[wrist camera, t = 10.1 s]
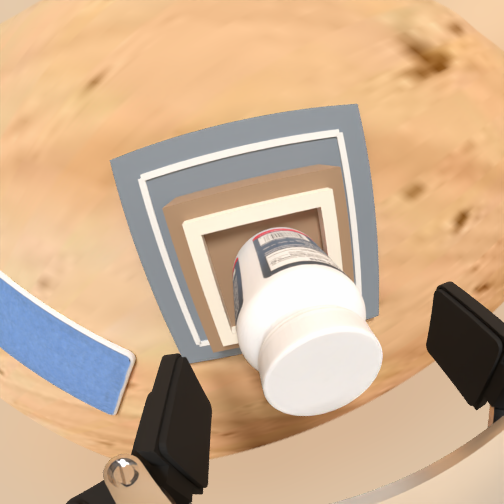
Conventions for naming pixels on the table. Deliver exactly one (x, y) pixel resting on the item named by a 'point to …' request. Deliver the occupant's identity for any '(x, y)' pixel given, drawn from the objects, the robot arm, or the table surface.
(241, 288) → the pill bottle
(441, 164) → the table surface
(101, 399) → the blue rectangular panel
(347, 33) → the table surface
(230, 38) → the table surface
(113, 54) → the table surface
